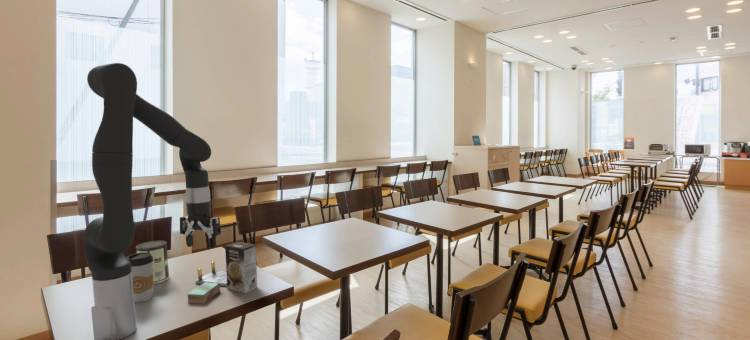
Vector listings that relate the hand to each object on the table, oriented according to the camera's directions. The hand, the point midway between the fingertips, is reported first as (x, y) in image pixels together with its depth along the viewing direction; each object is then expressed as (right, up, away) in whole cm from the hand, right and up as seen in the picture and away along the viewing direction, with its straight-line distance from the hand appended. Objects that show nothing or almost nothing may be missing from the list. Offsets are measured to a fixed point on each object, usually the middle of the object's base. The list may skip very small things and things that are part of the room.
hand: (201, 247), depth 134 cm
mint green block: (0, -18, +2) cm, 18 cm away
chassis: (0, -16, +17) cm, 23 cm away
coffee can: (-26, -16, +17) cm, 35 cm away
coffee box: (+11, -17, +8) cm, 22 cm away
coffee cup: (-21, -18, +1) cm, 27 cm away
